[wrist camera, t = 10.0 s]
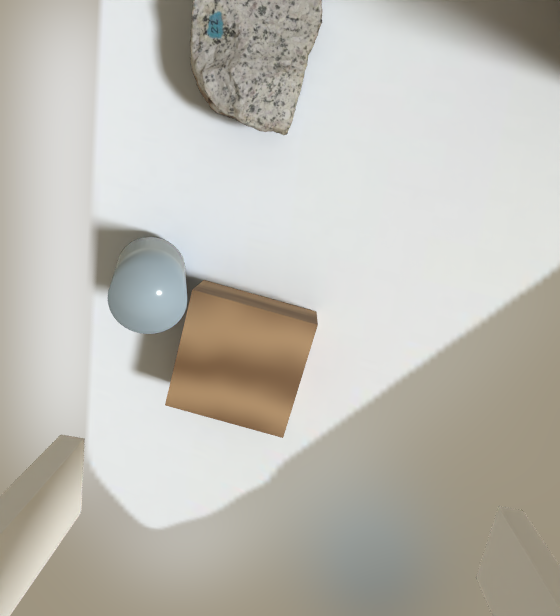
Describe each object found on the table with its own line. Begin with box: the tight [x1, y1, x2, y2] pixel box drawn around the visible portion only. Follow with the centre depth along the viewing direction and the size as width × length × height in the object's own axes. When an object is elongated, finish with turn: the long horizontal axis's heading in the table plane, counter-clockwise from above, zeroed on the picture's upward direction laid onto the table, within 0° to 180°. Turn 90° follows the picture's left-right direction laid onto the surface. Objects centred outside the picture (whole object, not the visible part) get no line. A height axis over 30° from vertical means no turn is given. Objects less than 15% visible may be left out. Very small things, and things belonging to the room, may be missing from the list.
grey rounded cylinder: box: [108, 237, 187, 334], centre depth 40 cm, size 6×6×7 cm
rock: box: [190, 0, 322, 135], centre depth 37 cm, size 13×10×5 cm
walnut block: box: [165, 280, 318, 438], centre depth 44 cm, size 11×11×5 cm
